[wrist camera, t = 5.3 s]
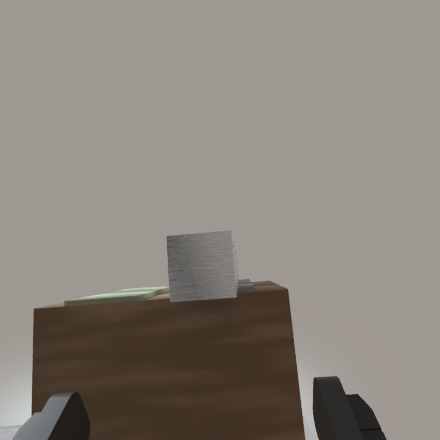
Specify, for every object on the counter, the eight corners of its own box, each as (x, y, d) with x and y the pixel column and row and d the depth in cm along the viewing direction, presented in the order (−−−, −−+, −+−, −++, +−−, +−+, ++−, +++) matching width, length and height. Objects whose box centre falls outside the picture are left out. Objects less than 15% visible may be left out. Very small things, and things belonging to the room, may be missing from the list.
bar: (236, 297, 15) (230, 230, 16) (169, 302, 16) (166, 236, 16) (238, 279, 37) (236, 251, 38) (210, 282, 37) (208, 254, 38)
